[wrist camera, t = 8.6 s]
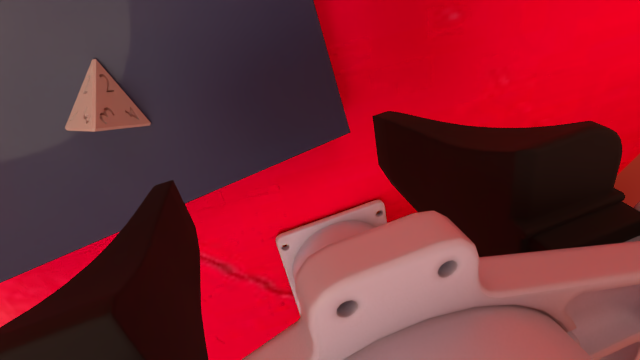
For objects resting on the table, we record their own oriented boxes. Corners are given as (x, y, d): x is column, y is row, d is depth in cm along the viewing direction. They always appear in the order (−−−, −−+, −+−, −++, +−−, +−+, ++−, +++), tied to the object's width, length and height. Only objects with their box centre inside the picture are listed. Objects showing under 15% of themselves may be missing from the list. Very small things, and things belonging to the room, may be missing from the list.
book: (333, 114, 24) (350, 132, 22) (5, 253, 22) (-16, 289, 20) (243, -187, 16) (254, -209, 14) (-282, -14, 14) (-371, -6, 12)
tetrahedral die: (129, 143, 19) (147, 179, 17) (63, 128, 17) (75, 167, 15) (158, 81, 18) (180, 111, 16) (92, 56, 16) (109, 89, 14)
